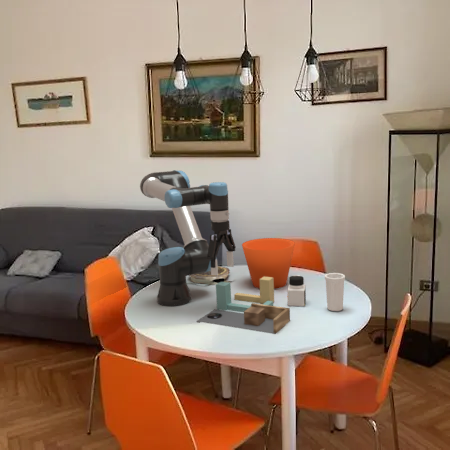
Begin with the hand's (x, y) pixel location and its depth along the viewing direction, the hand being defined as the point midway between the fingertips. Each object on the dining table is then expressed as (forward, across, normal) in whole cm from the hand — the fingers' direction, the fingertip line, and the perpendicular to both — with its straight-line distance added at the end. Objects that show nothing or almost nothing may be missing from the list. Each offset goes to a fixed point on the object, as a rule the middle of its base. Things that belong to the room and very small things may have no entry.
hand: (222, 270), depth 220 cm
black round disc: (+17, -10, -1) cm, 19 cm away
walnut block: (+16, -10, -19) cm, 27 cm away
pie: (+17, +37, +29) cm, 50 cm away
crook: (+17, +4, -8) cm, 19 cm away
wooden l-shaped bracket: (+17, -10, -23) cm, 30 cm away
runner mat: (+17, -10, -14) cm, 24 cm away
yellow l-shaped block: (+17, +13, -7) cm, 22 cm away
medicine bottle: (+17, +17, -26) cm, 35 cm away
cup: (+17, +16, -43) cm, 49 cm away
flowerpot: (+17, +38, -4) cm, 42 cm away
